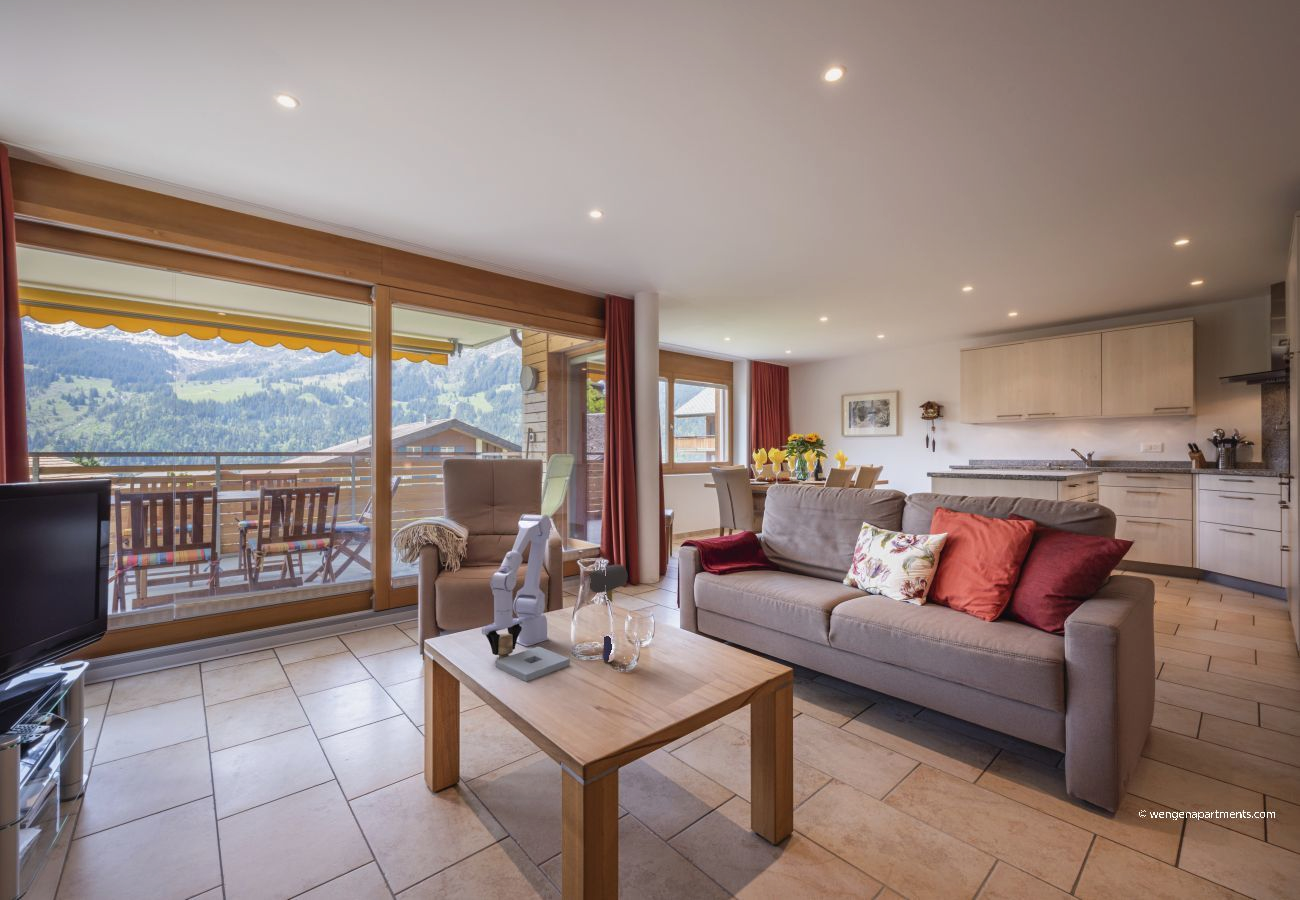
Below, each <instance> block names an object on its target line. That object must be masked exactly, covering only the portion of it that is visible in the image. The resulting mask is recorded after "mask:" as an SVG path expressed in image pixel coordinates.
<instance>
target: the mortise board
mask: <svg viewBox="0 0 1300 900" xmlns="http://www.w3.org/2000/svg"><path fill="white" fill-rule="evenodd" d="M569 666H570V658H569V657H567V656H564V655H561V654H559V653H556V652H554V651H551V650H550V649H549V650H548V649H546V648H544V647H541V646H535V647H533V648H530V649H526V650H524V651H523V650H522V651H521V652H520V651H519V652H517V653H514V654H511V655H509V656H508V657H505V658H502V659H499V658H498V659H497V660H495V668H496V669H499V670H501V671H503V672H505V673H507V674H510V675H511V676H513V677H516V678H518V679H520V680H522V681H524V682H529V681H531V680H534V679H538V678H540V677H542V676H544V675H548V674H550V673H553V672H556V671H558V670H560V669H563V668H566V667H569Z"/></svg>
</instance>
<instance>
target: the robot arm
mask: <svg viewBox="0 0 1300 900" xmlns="http://www.w3.org/2000/svg"><path fill="white" fill-rule="evenodd" d="M517 524H518V525H517V528H518V532H517V537H516V539H515V541H514V544H513V546H512V549H511V551H508V552H506V554H505V556H504V558H503V560H502V562H501V564H500V566H499V568H498V571H496V572H495V573H493V574H492V576H491V578H490V582H489V586H490V589H491V590H492V591H491V592H492V595H493V603H494V604H493V606H494V607H493V608H494V609H493V613H494V616H493V619H494V622H493V623H490V624H488V625H486V626H483V627H481V634H482V635H483V636H485V637H486V638H487V641H488V642H489V645H490V648H491V652H492V653H491V654H493V655H495V656H499V655H498V643H499V637H500V635H499V634H500V633H498V632H499V631H501V630H505V629H507V633H509V634H512V635H513V651H514V650H515V649H516V645H517V644H519V645H522V646H524V647H530V646H533V645H536V644H539V643H542V642H546V641H548V640H549V637H548V619H547V617H546V615H545V614H544V612H545V609H546V602H545V601H546V600H545V598H546V594H545V592H543V591H542V590H541V589H540V583H541V576H542V571H543V570H542V569H543V565H544V559H545V551H546V546H547V545H546V544H547V540H549V538H550V533H551V527H552V522H551V519H550V516H549V515H547V514H527V513H523V514H522V515H521V516H520V518H519V521H518V523H517ZM529 543H530V549H529V556H528V561H527V566H526V571H525V572H526V573H525V580H524V584H523V587H522V588H520V589H519V590H517V592H516V595H515V598H514V600H513V590H514V589H515V587H516V584H517V577H518V571H519V569H520V566H521V565H522V563H523V556H522V554H523V553H524V551H525V549H526V547H527V546H528V544H529ZM513 612H514V613H513ZM513 614H516V618H514V617H513Z"/></svg>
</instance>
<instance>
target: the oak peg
mask: <svg viewBox="0 0 1300 900" xmlns="http://www.w3.org/2000/svg"><path fill="white" fill-rule="evenodd" d="M498 634H499V635H500V637H499V643H498V655H497V656H498V660H499V659H502V658H505V657H508V656H510V654H511V655H512V654H513V651H514V650H513V635H512V634H509V633H508V632H506V633H498Z"/></svg>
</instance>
